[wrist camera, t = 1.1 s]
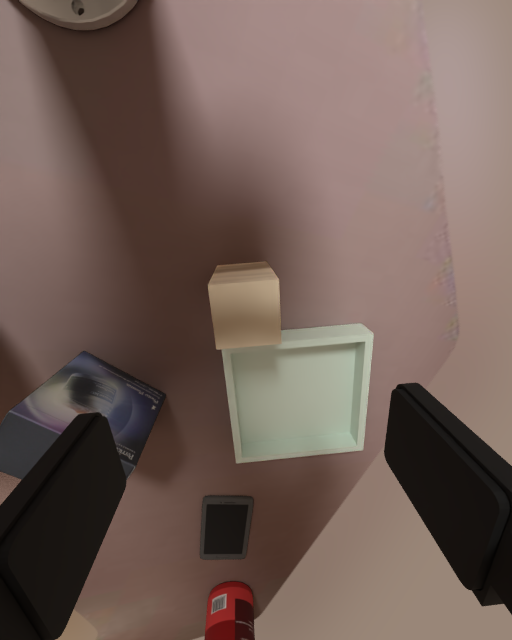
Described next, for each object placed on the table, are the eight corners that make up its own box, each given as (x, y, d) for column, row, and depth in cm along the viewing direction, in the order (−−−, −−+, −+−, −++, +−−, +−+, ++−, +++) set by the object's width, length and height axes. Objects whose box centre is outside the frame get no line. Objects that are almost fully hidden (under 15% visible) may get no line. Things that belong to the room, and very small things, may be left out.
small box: (170, 391, 32) (139, 468, 22) (143, 428, 33) (104, 515, 24) (84, 346, 29) (5, 410, 19) (59, 389, 31) (-25, 467, 21)
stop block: (217, 265, 27) (207, 285, 19) (266, 261, 27) (278, 279, 19) (222, 312, 29) (216, 349, 20) (269, 308, 29) (281, 343, 20)
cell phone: (200, 554, 43) (199, 560, 42) (203, 492, 38) (202, 498, 38) (245, 554, 44) (245, 560, 43) (254, 493, 39) (254, 498, 38)
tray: (222, 335, 30) (221, 347, 27) (361, 323, 30) (373, 333, 27) (236, 444, 35) (236, 463, 32) (353, 432, 36) (363, 450, 33)
